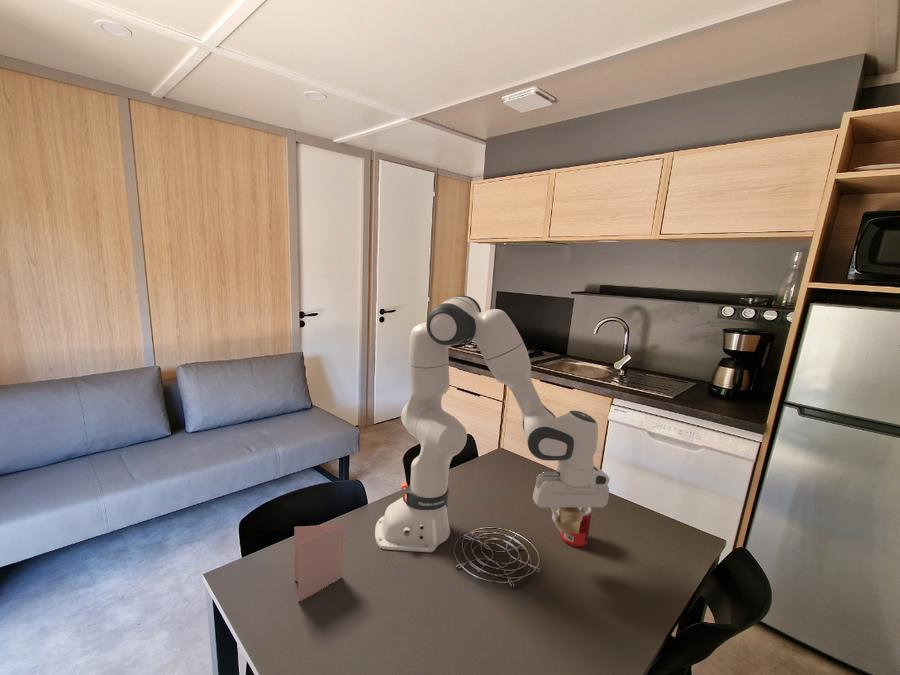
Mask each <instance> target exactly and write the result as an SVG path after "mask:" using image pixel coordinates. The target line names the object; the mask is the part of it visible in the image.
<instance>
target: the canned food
mask: <svg viewBox="0 0 900 675" xmlns="http://www.w3.org/2000/svg"><path fill="white" fill-rule="evenodd" d="M578 508H579V509H580V507H578ZM592 511H593V510H592V507H588V511H587V512H586V513H585V514H584V516H583V518H582V521H581V522H580V528H579V533H567V534H561V533H560V539H561V540H562V541H563V542H564V543H565V544H567V545H568V546H571V547H574V548H583V547H585V546H586V545H587V543H588V541H589V534H590V528H591V527H590V526H591V519H592Z"/></svg>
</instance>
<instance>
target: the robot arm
mask: <svg viewBox="0 0 900 675" xmlns="http://www.w3.org/2000/svg"><path fill="white" fill-rule="evenodd" d="M471 342H473V343H474V344H475V345H476V346H477V347H478V349H479V351H480V353H481V355H482V357H483V360H484V362H485V364H486V366H487V368H488V369H489V370H490V372H491V374H492V375H493V377H494V378H495V379H496V381H497V382H498V383H500V384H503V385H505V386H507V387H508V389H509V390H510V391H511V393H512V395H513V397H514V399H515V401H516V403H517V405H518V407H519V410H520V412H521V414H522V429H523V433H524V436H525V439H526V443H527V447H528V450H529V452H530V453H531V455H533V457H534V458H536V459H539V460H542V461H547V462H548V461H558V462H557V468H556V471H542V472H541V473H539V474H538V475H536V479H535V486H534V490H533V493H532V500H533V502H534V504H536V506H537V507H538V508H542V509H543V508H548V509H549V508H550V510H551V514H552V515H551V520H552V522H553V521H554V522H560V517H561V516H560V515H559V514H558V512H556V511H558V508H569V507H580V511H581V512H582V516H581V521H582V518H583V516H584V514H585V513H586V512H587V511H588V507H591V508H605V507H606V506H607V505H608V503H609V502H608V501H609V497H610V486H609V484H610V477H609V476H608V475H607V473H606V472H604V471H603V470H602V469H601V468H599V467H598V466H597V465H595V464H594V457H595V454H596V452H597V448H598V447H597V446H598V439H599V425H598V423H597V421H596V420H595V419H594V418H593V416H591V415H589V414H587V413H586V412H583V411H579V410H569V411H568V412H567V413H565V414H563V415H561V416H558V417H556V416H555V414H554V413H553V412H552V411H551V410H550V409H548V408H547V407H546V406H545V405H544V404H543V402H542V400H541V398H540V396H539V394H538V392H537V390H536V388H535V386H534V383H533V381H532V377H531V370H532V364H531V359H530V356H529V352H528V350H527V347H526V345H525V343H524V340H523V338H522V336H521V334H520V333H519V331H518V329H517V327H516V325H515V324H514V323H513V321H512V320H511V318H510V317H509V315H508V314H507V313H506V312H505V311H504V310H502V309H498V308H492V309H489V310H488V309H487V310H485V311H482V309H481V306H480V303H478V301H477V300H476V299H474V298H473V297H472V296H468V295H457V296H454V297H451V298H448V299H446V300H444V301H443V302H442V303H440V304H438V305H437V306H435V307H433V309H431V311H430V312H429V314H428V317H427V318H426V321H425V322H421V323H419V324H416V325H415V326H414V327H413V328H412V329H411V331H410V335H409V342H408V368H409V394H408V395H409V396H408V401H407V402H406V404H405V405H404V406H403V408H402V411H401V413H400V420H401V423H402V425H403V426H404V429H406V431H407V432H408V433H409V434H410V435H411V436H412V437H414V438H415V439H416V440H417V441H419V443H420V453H419V455H417V456H416V457H415V458H414V459H413V460H412V462H411V464H410V484H409V485H408V483H407V482H402V483H401V485H400V489H401V491H402V497H400V498H399V499H397V500H396V501H394V502H392V503H390V504H389V505H388V506H386V507H387V508H386V509H385V512H384V515H383V516H380V518H379V519H378V520H377V522H376V524H375V528H374V540H375V539H376V540H375V542H376V545H377V546H378V548H380V549H381V548H382V549H381V550H388V551H389V550H392V551H403V552H404V551H405V552H423V553H433V552H434V551H435V550H436V548H438V546H440V545H441V544H443V543H444V542H446V541H447V540H448V539H449V537H450V535H451V527H450V525H449V519H448V518H449V517H448V506H449V499H450V497H449V496H450V491H449V490H450V489H449V486H448V485H449V484H448V483H449V472H450V464H451V462H452V460H453V457H455V456H457V455H459V454H460V453H461V452H462V451H463V449H464V447H465V446H466V443H467V441H468V440H467V439H468V434H467V433H468V432H467V430H466V428H465V426H464V425H463V424H462V423H461V422H460V421H459V420H458V419H457V417H455V416H454V415H452V414H451V413H449V412H448V411H447V412H446V411H445V410H443V407H442V399H443V395H445V394H446V393H447V392H448V391H449V390H450V368H449V367H450V366H449V364H450V361H449V348H450V346H454V345H455V346H456V345H466V344H470V343H471Z"/></svg>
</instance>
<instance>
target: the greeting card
mask: <svg viewBox="0 0 900 675" xmlns="http://www.w3.org/2000/svg"><path fill="white" fill-rule="evenodd" d="M293 529H294V533H293V534H294V538H293V539H294V542H293V543H294V582H295V581H296V580H298V582H297V590H298V591H297V595H298V596H297V599H298V601H297V603H298V602H299V601H300V602H302V601H303V599H304V600H306V599H307V598H306V597H308V596H309V597H311V596H313V595H315V594H317V593H318V592H320V591H322V590H323V588H324V587H325V588H327V587H329V586H330V585H329V584H331V583H333V582H334V583H336V582H338V581H339V580H338V579H340V578H342V579H343V563H344V562H343V557H344V554H343V553H344V523H342V524H341V523H340V524H338V523H337V524H324V525H323V524H322V525H321V524H320V525H307V526H306V525H305V526H294V528H293ZM337 580H338V581H337ZM340 580H341V579H340ZM335 581H336V582H335ZM334 583H333V584H334ZM328 585H329V586H328ZM331 585H332V584H331ZM326 586H327V587H326ZM325 588H324V589H325ZM321 589H322V590H321ZM319 590H320V591H319ZM317 591H318V592H317ZM316 592H317V593H316ZM314 593H315V594H314ZM312 594H313V595H312ZM310 595H311V596H310ZM309 597H308V598H309ZM305 598H306V599H305ZM301 600H302V601H301ZM300 602H299V603H300Z"/></svg>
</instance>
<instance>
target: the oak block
mask: <svg viewBox="0 0 900 675" xmlns="http://www.w3.org/2000/svg"><path fill="white" fill-rule="evenodd" d="M556 512H558V514H559V515H560V516H561V517H560V522H554V521H553V520H552V522H553V524H554V526H555V527H556V529H557V531H559V532H560V533H561V534H567V533H579V528H580V522H581V516H582V512H581V511H580V509H579V508H578V507H569V508H558V511H556ZM561 534H560V535H561Z"/></svg>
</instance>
